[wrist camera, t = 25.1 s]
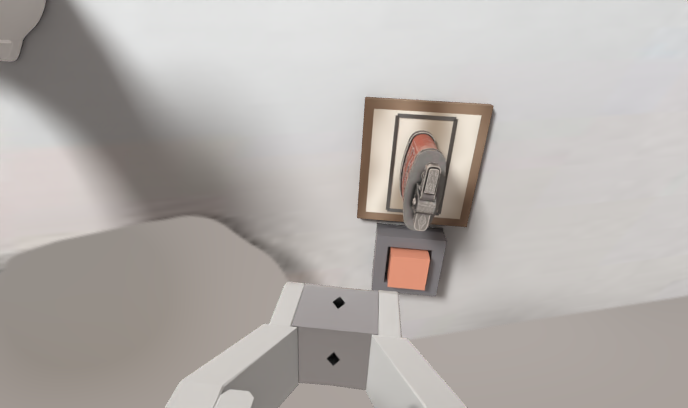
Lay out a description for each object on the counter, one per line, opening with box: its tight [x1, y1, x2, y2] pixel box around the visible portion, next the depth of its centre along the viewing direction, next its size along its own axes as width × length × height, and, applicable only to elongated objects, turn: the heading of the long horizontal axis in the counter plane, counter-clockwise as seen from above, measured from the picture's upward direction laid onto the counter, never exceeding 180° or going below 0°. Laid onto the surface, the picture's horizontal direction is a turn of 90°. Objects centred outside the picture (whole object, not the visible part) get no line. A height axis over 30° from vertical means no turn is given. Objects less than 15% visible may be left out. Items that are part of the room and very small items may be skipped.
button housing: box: [372, 223, 447, 296], centre depth 44 cm, size 8×8×3 cm
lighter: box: [399, 130, 446, 231], centre depth 34 cm, size 8×3×10 cm, turn 173°
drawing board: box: [357, 97, 493, 227], centre depth 39 cm, size 13×14×1 cm
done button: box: [387, 247, 430, 290], centre depth 42 cm, size 4×4×3 cm
